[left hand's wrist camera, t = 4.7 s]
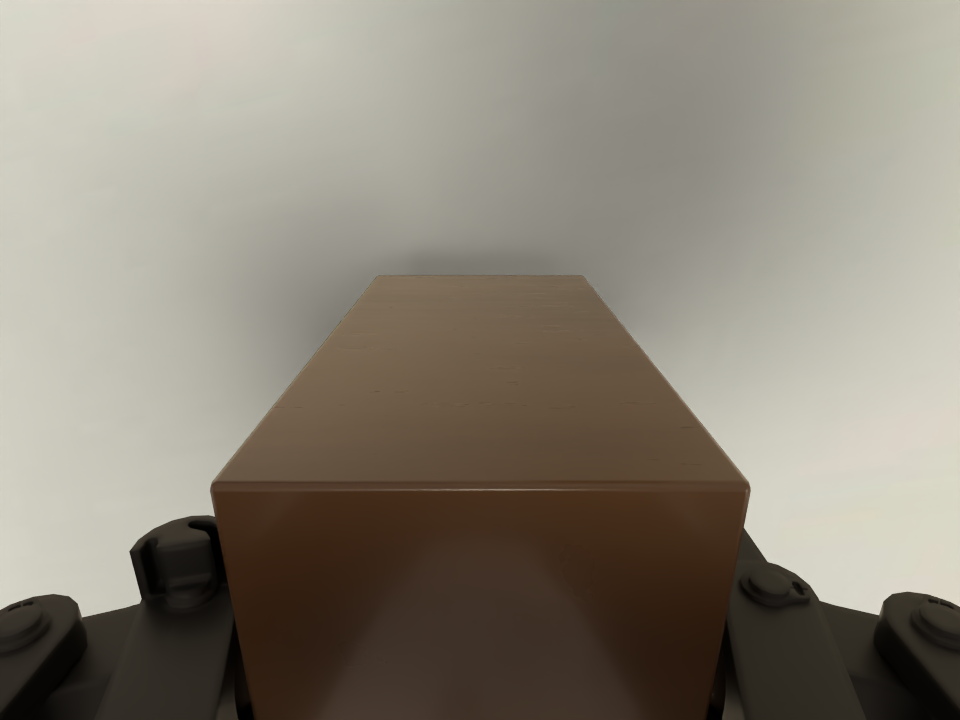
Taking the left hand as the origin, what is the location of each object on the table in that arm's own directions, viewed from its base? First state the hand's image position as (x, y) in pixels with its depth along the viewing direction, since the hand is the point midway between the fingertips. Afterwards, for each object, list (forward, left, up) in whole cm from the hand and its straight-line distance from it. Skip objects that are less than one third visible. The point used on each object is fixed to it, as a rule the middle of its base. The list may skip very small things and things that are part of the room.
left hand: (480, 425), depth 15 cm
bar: (+7, +7, -1) cm, 10 cm away
